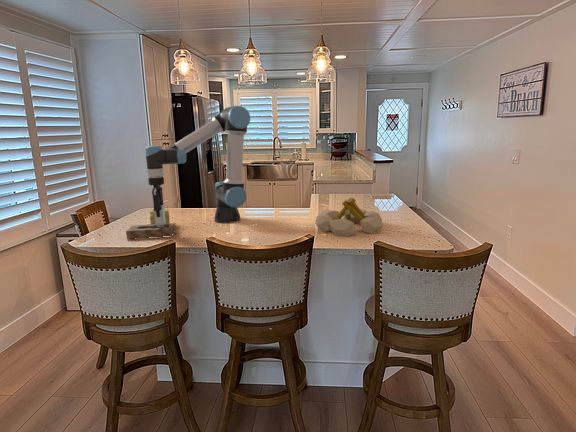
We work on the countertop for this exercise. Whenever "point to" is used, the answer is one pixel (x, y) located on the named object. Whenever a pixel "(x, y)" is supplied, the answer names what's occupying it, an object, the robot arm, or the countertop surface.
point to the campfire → (348, 220)
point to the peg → (161, 225)
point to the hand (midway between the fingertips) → (160, 221)
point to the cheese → (154, 217)
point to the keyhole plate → (150, 231)
